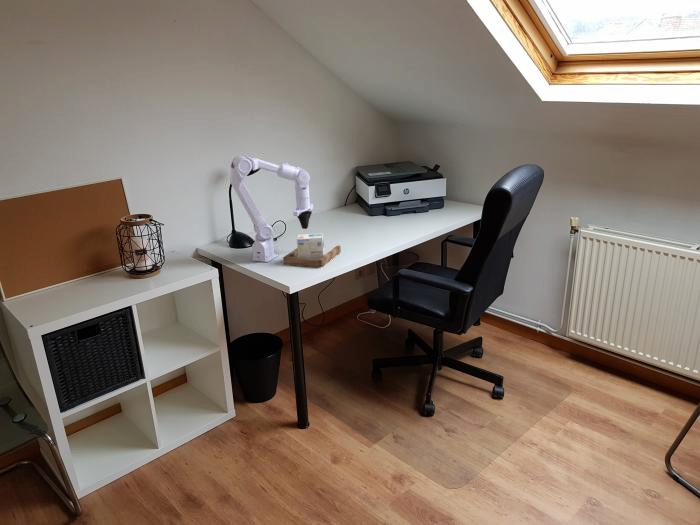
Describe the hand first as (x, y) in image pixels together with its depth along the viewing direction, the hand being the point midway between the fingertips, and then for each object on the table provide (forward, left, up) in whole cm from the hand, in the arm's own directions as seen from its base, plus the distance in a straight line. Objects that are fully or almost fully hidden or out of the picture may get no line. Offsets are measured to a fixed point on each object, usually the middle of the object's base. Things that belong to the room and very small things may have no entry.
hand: (304, 228), depth 249 cm
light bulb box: (-10, -8, -11) cm, 17 cm away
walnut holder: (-8, -7, -10) cm, 15 cm away
